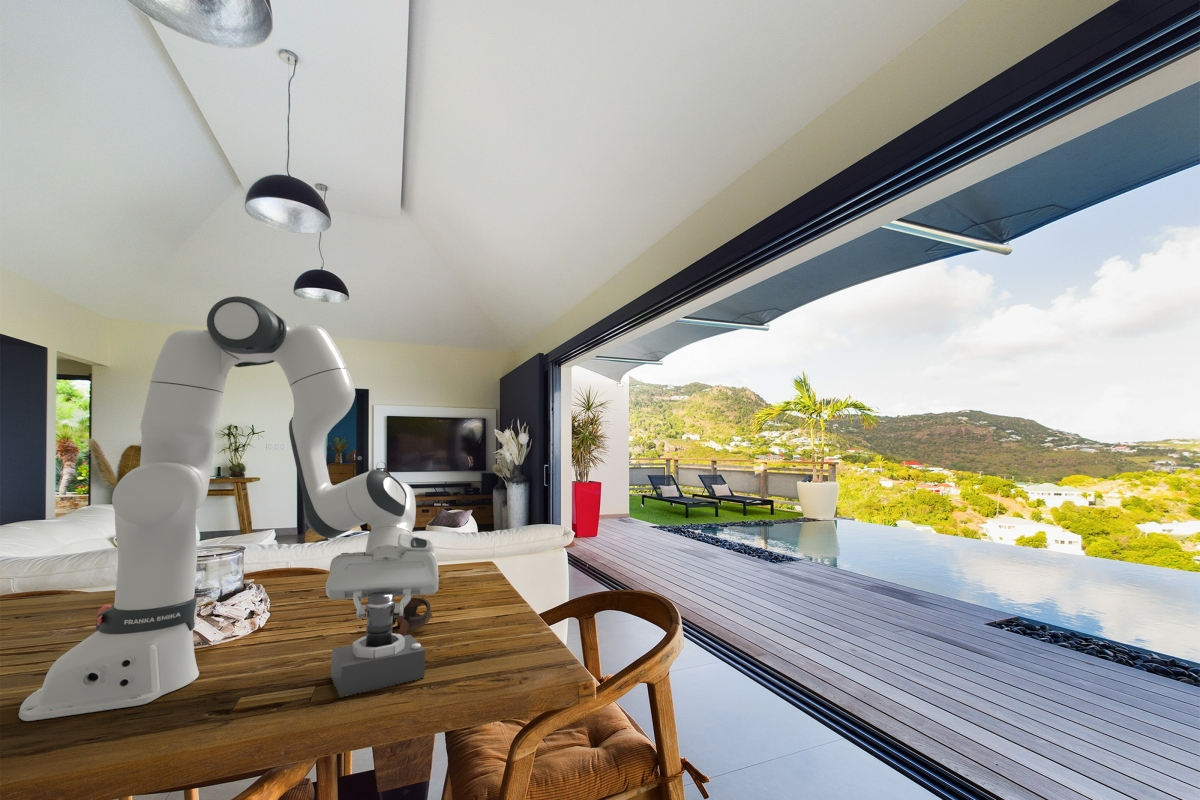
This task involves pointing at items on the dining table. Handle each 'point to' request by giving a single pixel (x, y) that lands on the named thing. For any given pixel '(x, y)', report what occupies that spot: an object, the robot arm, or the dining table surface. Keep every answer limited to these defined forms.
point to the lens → (379, 619)
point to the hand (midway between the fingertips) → (379, 615)
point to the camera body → (376, 665)
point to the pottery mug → (412, 615)
